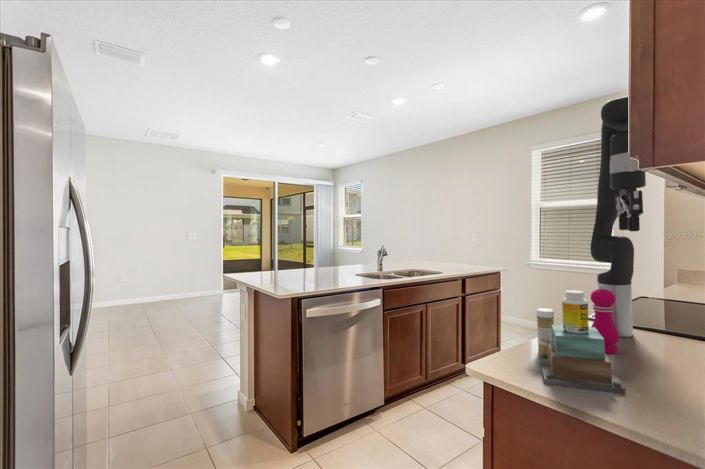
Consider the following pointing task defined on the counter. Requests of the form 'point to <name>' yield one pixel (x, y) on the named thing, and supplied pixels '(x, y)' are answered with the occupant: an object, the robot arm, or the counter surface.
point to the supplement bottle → (575, 312)
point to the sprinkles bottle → (544, 328)
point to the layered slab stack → (579, 361)
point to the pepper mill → (605, 317)
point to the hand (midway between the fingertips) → (628, 230)
